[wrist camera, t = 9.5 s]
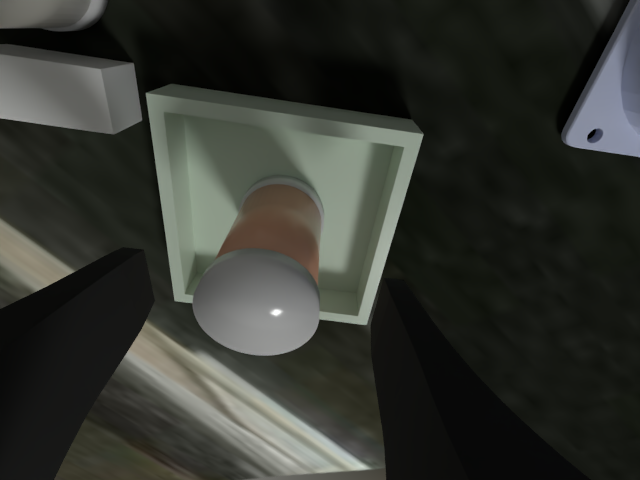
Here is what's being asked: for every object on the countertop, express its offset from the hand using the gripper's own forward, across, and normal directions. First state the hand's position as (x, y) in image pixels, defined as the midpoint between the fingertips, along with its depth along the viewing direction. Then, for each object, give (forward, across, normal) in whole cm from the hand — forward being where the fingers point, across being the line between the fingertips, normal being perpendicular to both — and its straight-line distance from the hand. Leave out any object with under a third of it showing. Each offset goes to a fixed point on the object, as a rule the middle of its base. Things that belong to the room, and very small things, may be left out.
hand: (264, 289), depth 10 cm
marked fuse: (+5, 0, 0) cm, 5 cm away
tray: (+5, 0, 0) cm, 5 cm away
